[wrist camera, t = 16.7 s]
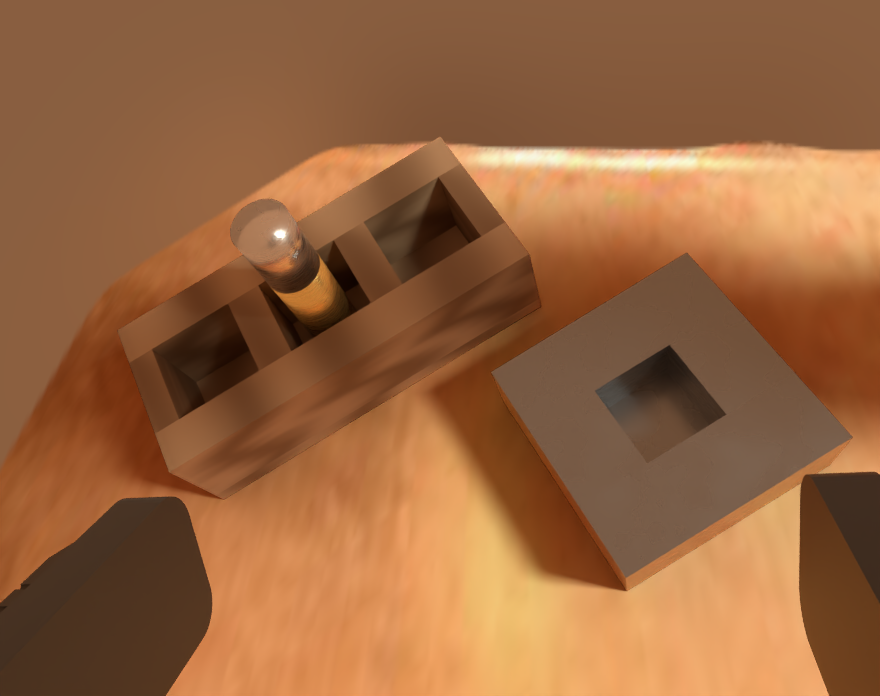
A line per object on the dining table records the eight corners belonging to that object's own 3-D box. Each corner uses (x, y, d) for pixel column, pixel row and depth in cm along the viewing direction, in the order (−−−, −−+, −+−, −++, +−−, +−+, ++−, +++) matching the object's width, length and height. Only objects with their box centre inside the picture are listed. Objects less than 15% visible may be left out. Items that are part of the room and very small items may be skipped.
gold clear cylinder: (354, 304, 47) (275, 188, 37) (375, 340, 46) (298, 230, 35) (313, 329, 47) (221, 220, 37) (332, 365, 46) (243, 263, 35)
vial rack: (460, 196, 50) (440, 136, 45) (541, 306, 46) (529, 253, 40) (172, 370, 50) (117, 330, 44) (223, 499, 45) (169, 472, 40)
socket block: (681, 293, 44) (686, 252, 40) (830, 465, 38) (852, 437, 34) (504, 402, 44) (490, 372, 40) (626, 591, 38) (625, 578, 34)
